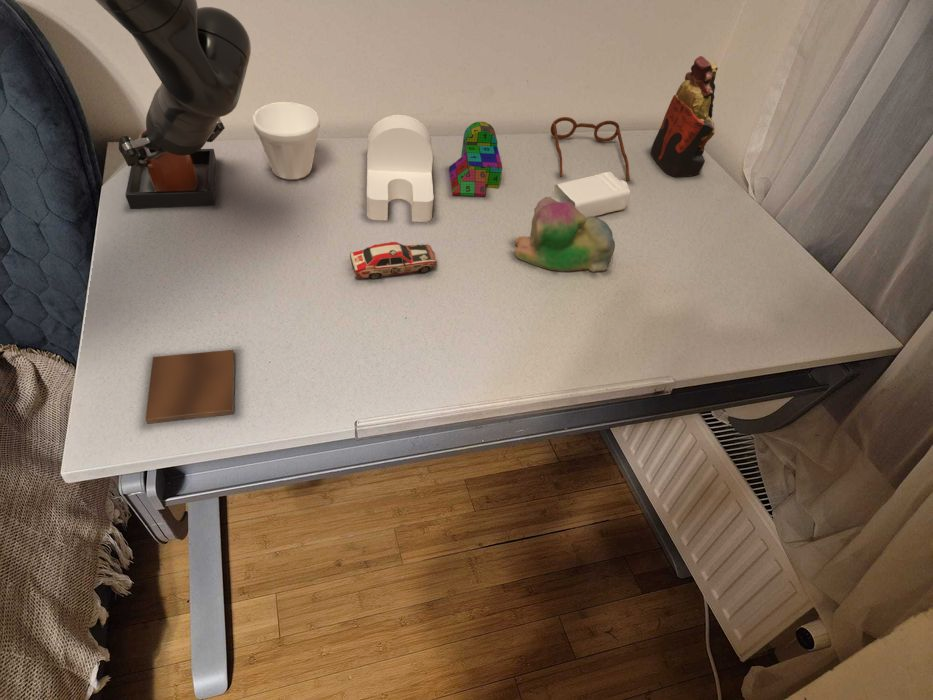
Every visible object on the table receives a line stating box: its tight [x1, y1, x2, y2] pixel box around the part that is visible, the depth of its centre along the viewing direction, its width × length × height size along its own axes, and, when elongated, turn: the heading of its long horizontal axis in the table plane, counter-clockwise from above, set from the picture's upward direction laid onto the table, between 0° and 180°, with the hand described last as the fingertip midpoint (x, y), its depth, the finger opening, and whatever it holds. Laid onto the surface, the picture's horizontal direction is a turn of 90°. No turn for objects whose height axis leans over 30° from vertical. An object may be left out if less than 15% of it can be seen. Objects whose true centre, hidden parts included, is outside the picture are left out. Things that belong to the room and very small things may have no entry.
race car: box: [349, 241, 437, 280], centre depth 87 cm, size 5×12×5 cm, turn 102°
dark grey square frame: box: [125, 148, 218, 210], centre depth 93 cm, size 12×12×2 cm
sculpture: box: [514, 196, 616, 273], centre depth 90 cm, size 15×8×10 cm, turn 104°
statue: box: [650, 55, 719, 178], centre depth 109 cm, size 12×8×20 cm, turn 12°
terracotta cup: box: [137, 129, 199, 192], centre depth 91 cm, size 6×6×8 cm
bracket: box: [366, 114, 435, 223], centre depth 97 cm, size 19×10×11 cm, turn 5°
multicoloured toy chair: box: [448, 121, 503, 198], centre depth 103 cm, size 12×8×7 cm
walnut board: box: [144, 349, 235, 424], centre depth 71 cm, size 9×9×1 cm
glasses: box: [550, 116, 631, 182], centre depth 111 cm, size 13×13×5 cm
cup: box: [251, 101, 321, 181], centre depth 97 cm, size 10×10×9 cm
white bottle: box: [550, 171, 631, 217], centre depth 102 cm, size 6×13×4 cm, turn 118°
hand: (163, 154), depth 92 cm, fingers closed on terracotta cup, 6 cm apart
